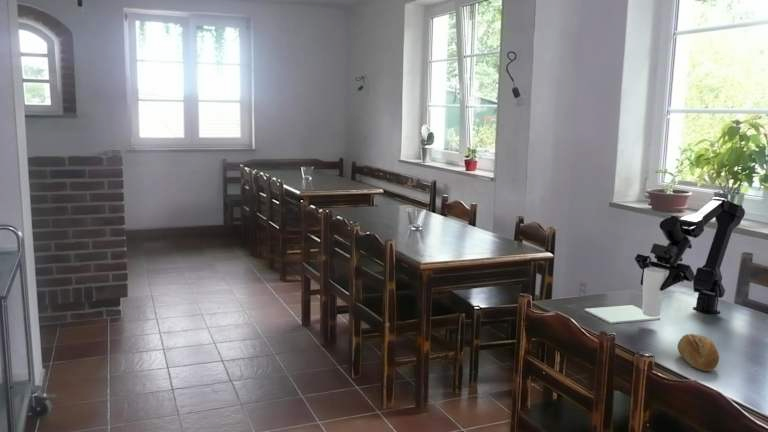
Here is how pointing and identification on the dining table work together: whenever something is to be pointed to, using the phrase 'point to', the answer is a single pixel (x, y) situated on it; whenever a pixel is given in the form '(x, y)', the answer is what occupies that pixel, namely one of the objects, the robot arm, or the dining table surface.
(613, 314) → the pad
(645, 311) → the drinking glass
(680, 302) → the dining table surface
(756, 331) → the dining table surface
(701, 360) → the bread roll
